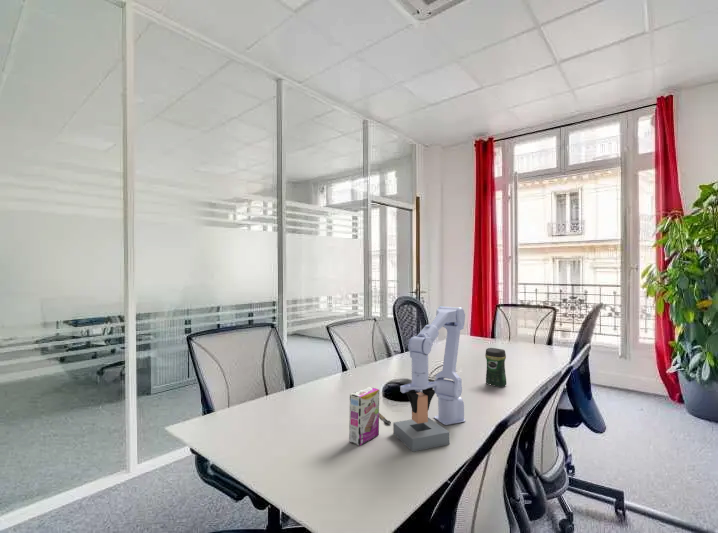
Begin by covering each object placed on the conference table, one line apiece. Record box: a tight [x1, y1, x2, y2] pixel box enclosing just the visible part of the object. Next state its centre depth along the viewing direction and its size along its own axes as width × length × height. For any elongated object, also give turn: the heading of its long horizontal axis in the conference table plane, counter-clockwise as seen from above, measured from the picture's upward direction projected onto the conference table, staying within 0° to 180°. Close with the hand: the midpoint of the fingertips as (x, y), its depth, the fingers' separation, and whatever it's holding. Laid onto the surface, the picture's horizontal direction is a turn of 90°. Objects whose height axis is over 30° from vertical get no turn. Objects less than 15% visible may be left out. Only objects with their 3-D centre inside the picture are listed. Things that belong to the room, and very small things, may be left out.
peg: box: [411, 391, 429, 424], centre depth 126 cm, size 4×4×9 cm
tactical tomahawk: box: [379, 412, 392, 425], centre depth 146 cm, size 21×7×1 cm, turn 18°
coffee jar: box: [484, 347, 507, 388], centre depth 186 cm, size 10×8×19 cm
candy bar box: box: [348, 386, 380, 447], centre depth 126 cm, size 11×5×16 cm, turn 141°
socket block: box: [392, 417, 450, 452], centre depth 126 cm, size 14×14×4 cm
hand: (420, 410), depth 126 cm, fingers closed on peg, 4 cm apart
